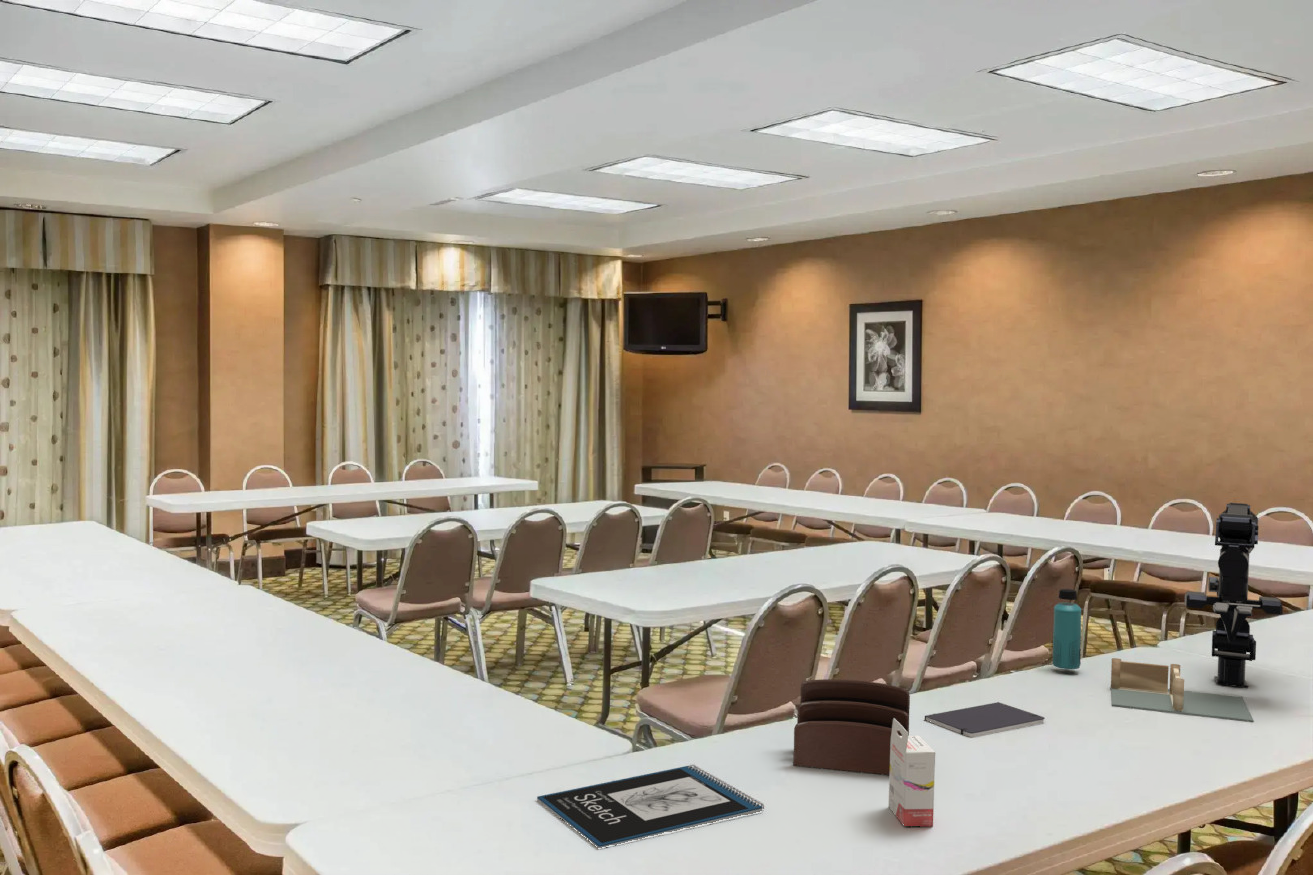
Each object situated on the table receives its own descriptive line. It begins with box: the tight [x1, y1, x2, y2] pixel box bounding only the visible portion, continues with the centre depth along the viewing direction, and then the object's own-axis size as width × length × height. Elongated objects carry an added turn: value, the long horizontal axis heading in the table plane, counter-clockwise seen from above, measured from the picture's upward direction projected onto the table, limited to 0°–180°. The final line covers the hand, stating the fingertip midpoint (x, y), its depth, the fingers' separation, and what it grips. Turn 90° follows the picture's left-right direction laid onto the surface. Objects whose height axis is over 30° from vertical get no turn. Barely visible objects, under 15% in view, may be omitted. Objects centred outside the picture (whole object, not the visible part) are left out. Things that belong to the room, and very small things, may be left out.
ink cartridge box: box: [888, 718, 936, 828], centre depth 174 cm, size 9×5×15 cm, turn 5°
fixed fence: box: [1110, 657, 1181, 695], centre depth 248 cm, size 2×14×7 cm, turn 68°
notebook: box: [924, 701, 1045, 738], centre depth 225 cm, size 13×2×21 cm
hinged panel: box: [1172, 668, 1185, 710], centre depth 239 cm, size 13×2×6 cm, turn 158°
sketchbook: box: [536, 763, 765, 849], centre depth 177 cm, size 22×30×2 cm
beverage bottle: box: [1051, 588, 1082, 670], centre depth 265 cm, size 6×7×20 cm
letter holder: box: [792, 678, 911, 776], centre depth 199 cm, size 10×20×14 cm, turn 76°
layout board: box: [1110, 687, 1255, 723], centre depth 241 cm, size 19×27×1 cm
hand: (1231, 641), depth 243 cm, fingers closed
